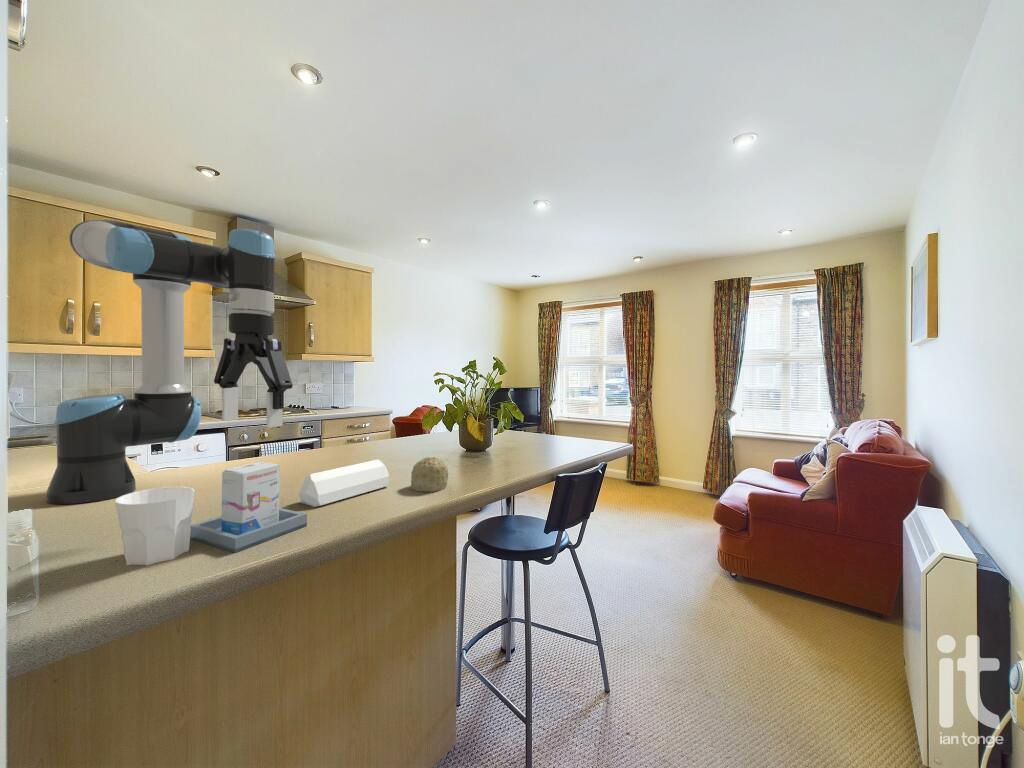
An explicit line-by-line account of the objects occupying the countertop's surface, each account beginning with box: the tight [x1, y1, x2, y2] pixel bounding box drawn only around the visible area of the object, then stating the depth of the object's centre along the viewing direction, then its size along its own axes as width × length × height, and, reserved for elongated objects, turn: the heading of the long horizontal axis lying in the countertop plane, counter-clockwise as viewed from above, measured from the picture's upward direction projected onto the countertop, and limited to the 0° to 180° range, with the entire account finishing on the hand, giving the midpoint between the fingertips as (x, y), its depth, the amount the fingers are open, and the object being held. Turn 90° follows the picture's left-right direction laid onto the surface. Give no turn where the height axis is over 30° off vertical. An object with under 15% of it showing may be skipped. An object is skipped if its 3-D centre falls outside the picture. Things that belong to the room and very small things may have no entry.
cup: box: [114, 486, 195, 566], centre depth 72 cm, size 10×10×10 cm
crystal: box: [298, 459, 390, 508], centre depth 107 cm, size 7×7×24 cm
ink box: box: [221, 461, 281, 536], centre depth 82 cm, size 9×5×12 cm, turn 163°
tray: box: [190, 507, 308, 554], centre depth 82 cm, size 13×14×2 cm
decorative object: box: [410, 456, 449, 493], centre depth 114 cm, size 9×10×10 cm
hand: (251, 423), depth 86 cm, fingers open, 13 cm apart
